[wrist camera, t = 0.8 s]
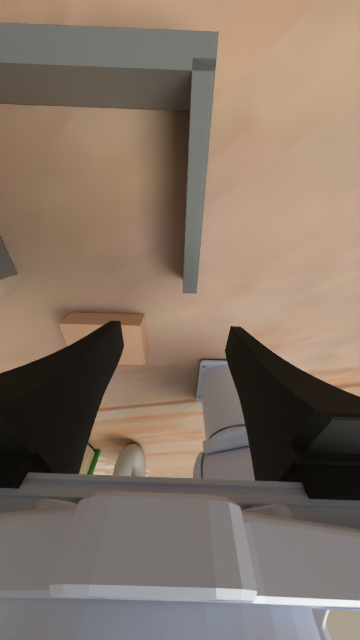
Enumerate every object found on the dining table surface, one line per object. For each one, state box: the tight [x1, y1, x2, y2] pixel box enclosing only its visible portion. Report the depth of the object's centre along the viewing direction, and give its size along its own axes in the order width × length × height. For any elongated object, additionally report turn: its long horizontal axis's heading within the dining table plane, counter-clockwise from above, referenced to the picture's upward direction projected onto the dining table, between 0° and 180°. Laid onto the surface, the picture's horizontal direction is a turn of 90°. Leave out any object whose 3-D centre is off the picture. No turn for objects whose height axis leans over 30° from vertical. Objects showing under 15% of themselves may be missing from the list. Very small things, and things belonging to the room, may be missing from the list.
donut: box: [113, 444, 146, 477], centre depth 34 cm, size 10×3×10 cm, turn 15°
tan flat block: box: [58, 312, 148, 365], centre depth 22 cm, size 6×9×3 cm, turn 89°
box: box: [0, 23, 218, 294], centre depth 13 cm, size 14×20×4 cm, turn 88°
